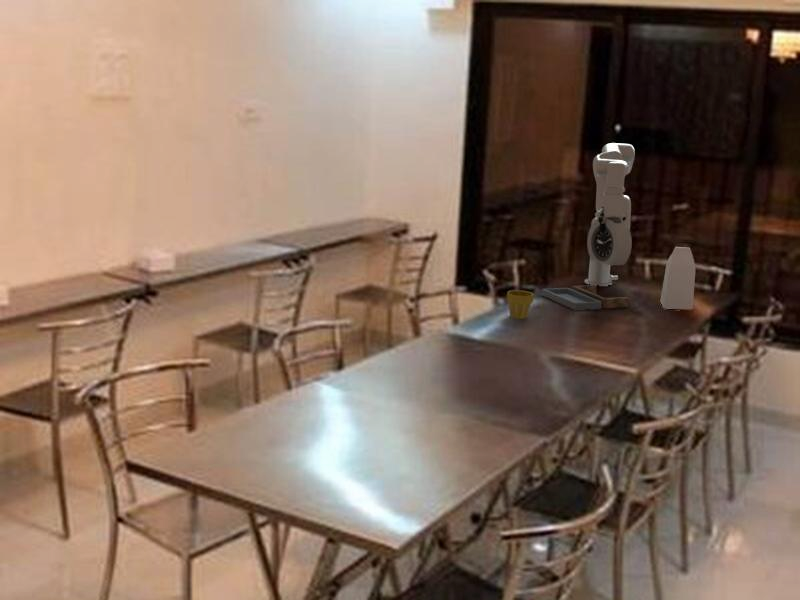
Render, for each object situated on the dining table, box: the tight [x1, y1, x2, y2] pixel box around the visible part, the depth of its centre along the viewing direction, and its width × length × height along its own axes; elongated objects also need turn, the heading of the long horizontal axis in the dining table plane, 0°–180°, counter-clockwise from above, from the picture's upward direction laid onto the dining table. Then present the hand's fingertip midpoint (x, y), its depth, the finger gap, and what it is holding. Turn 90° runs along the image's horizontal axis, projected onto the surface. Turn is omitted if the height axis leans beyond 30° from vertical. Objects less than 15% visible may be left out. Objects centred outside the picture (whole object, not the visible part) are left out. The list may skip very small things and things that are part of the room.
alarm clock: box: [586, 217, 633, 266], centre depth 456 cm, size 21×8×20 cm, turn 27°
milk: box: [659, 246, 696, 310], centre depth 454 cm, size 12×12×26 cm
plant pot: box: [506, 289, 534, 320], centre depth 424 cm, size 10×10×10 cm
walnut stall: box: [571, 284, 629, 309], centre depth 461 cm, size 12×25×4 cm, turn 23°
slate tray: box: [541, 287, 602, 311], centre depth 455 cm, size 13×27×3 cm, turn 23°
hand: (610, 232), depth 455 cm, fingers closed on alarm clock, 7 cm apart
